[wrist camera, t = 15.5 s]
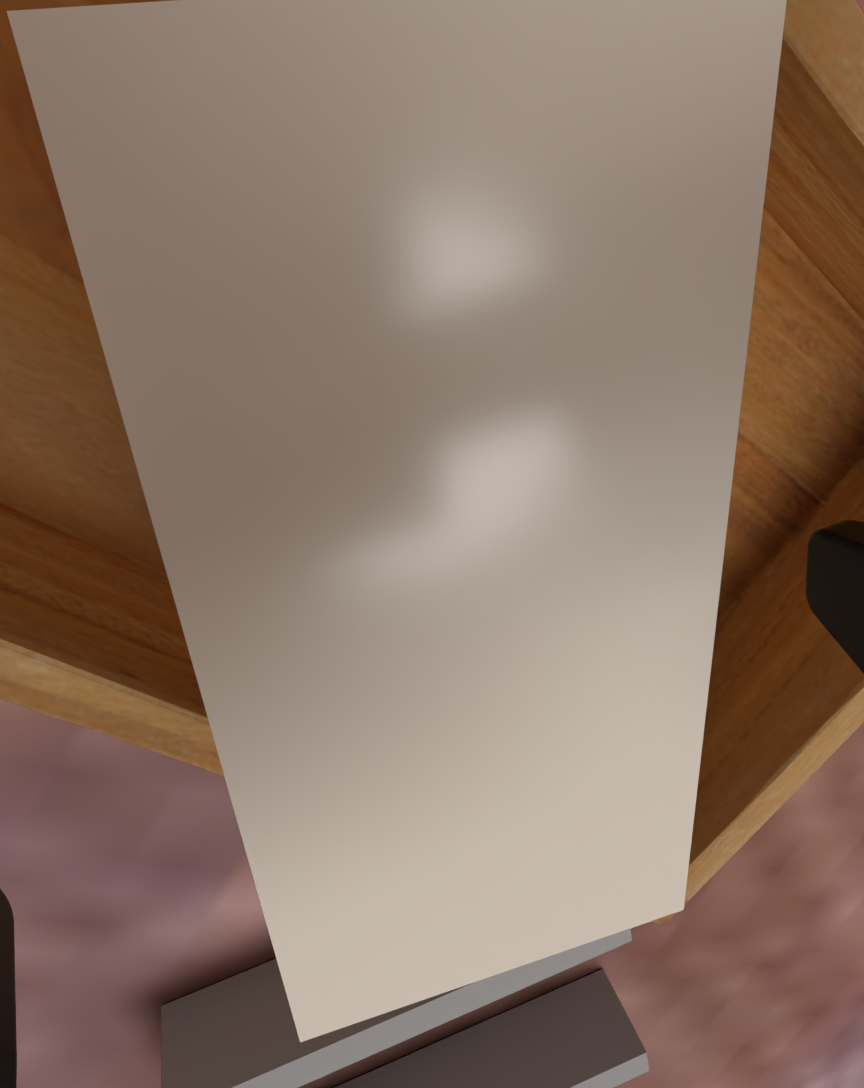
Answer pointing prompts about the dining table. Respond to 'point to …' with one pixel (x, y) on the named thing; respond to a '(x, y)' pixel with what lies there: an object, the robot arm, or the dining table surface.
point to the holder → (410, 1035)
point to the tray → (755, 504)
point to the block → (430, 436)
